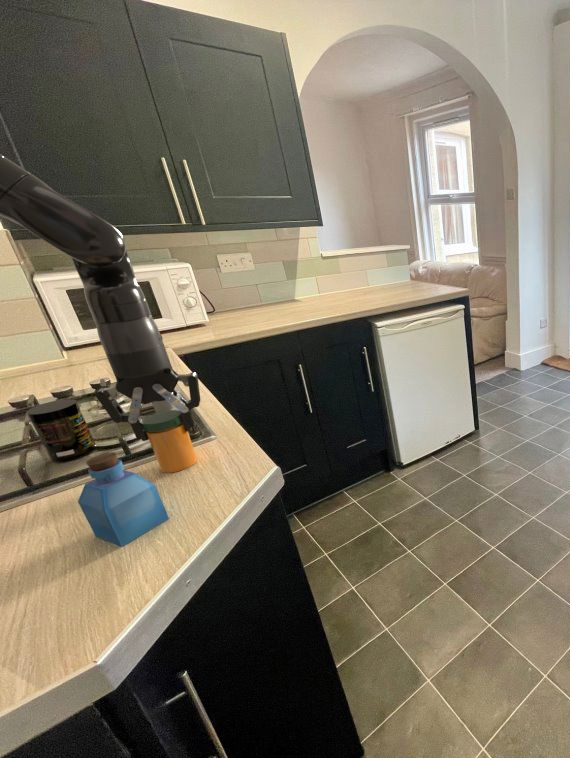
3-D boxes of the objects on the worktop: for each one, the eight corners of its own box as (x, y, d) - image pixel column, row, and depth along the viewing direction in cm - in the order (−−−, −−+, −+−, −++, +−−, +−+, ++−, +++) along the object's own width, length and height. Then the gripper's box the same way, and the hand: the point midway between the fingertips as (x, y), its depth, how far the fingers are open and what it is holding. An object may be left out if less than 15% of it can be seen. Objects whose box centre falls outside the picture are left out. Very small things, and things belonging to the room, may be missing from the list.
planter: (169, 438, 88) (152, 393, 84) (160, 433, 90) (143, 389, 86) (193, 430, 91) (178, 386, 88) (185, 425, 94) (169, 382, 90)
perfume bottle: (122, 546, 59) (87, 474, 54) (95, 536, 61) (60, 466, 56) (169, 518, 64) (140, 450, 60) (143, 510, 66) (113, 444, 62)
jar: (154, 474, 75) (135, 429, 72) (171, 458, 81) (155, 415, 77) (188, 470, 76) (171, 425, 73) (203, 454, 81) (188, 412, 78)
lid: (168, 431, 73) (165, 423, 72) (135, 432, 73) (132, 424, 72) (191, 416, 78) (189, 409, 77) (160, 417, 78) (157, 410, 77)
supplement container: (100, 442, 87) (79, 396, 84) (95, 455, 82) (73, 407, 78) (55, 452, 84) (31, 405, 80) (47, 467, 79) (21, 417, 75)
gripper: (68, 359, 63) (112, 455, 70) (184, 342, 70) (214, 431, 76) (83, 347, 69) (122, 437, 76) (188, 333, 76) (216, 416, 82)
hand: (168, 433), depth 76 cm, fingers closed on lid, 5 cm apart
